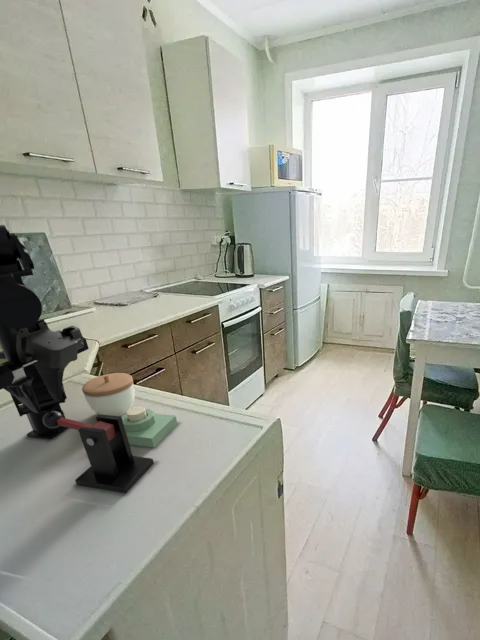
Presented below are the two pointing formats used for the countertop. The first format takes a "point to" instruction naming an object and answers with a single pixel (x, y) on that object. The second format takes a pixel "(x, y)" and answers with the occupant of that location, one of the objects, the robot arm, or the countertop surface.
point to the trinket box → (110, 393)
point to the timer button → (136, 414)
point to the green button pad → (148, 428)
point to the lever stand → (111, 458)
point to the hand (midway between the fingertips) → (48, 406)
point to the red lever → (75, 423)
